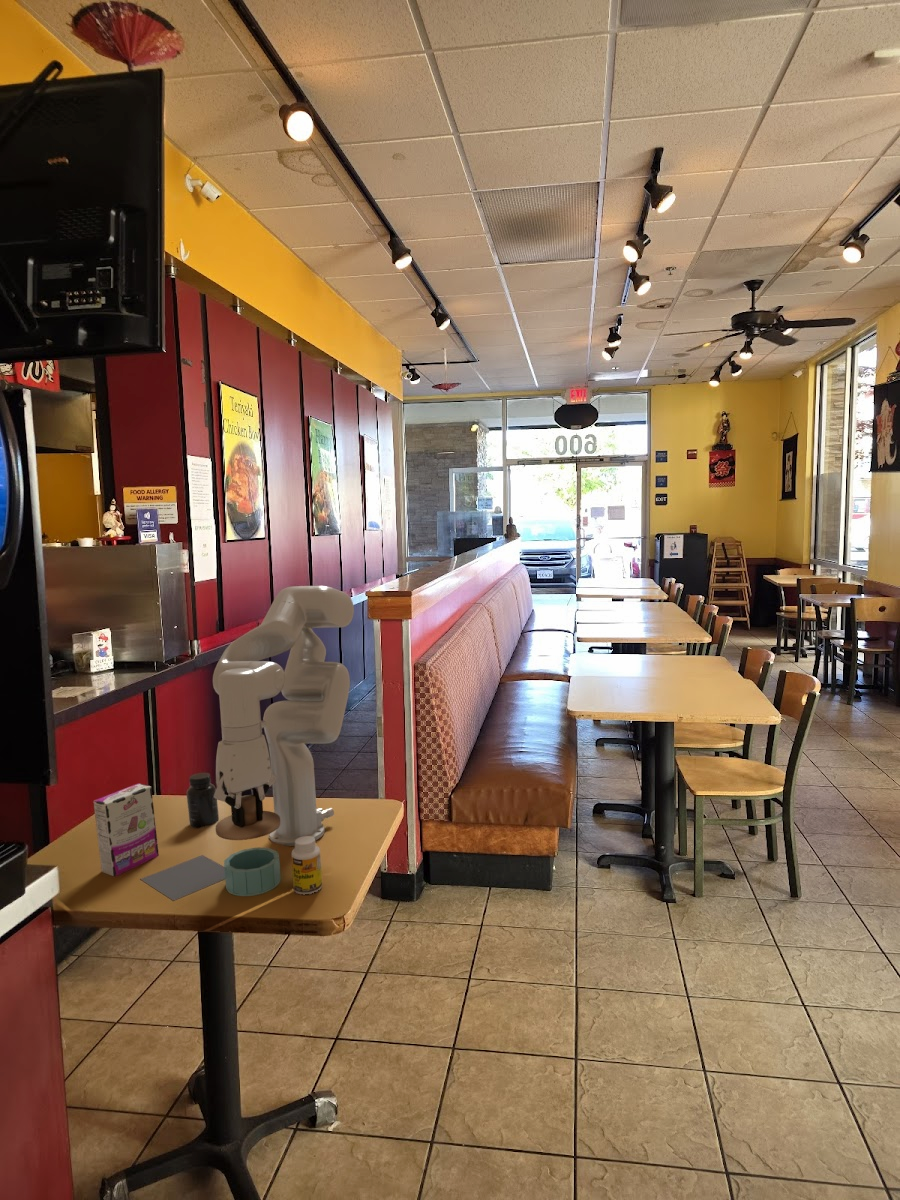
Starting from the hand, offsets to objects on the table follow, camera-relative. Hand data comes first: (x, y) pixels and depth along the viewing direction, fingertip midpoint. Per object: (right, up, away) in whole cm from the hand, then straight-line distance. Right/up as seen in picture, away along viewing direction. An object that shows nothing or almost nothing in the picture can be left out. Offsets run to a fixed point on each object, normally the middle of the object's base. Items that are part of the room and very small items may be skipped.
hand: (248, 821), depth 154 cm
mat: (-14, -14, +6) cm, 20 cm away
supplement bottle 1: (-20, -10, +34) cm, 41 cm away
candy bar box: (-29, -14, +13) cm, 34 cm away
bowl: (+1, -13, +2) cm, 14 cm away
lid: (0, -1, 0) cm, 1 cm away
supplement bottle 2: (+12, -13, -1) cm, 18 cm away
